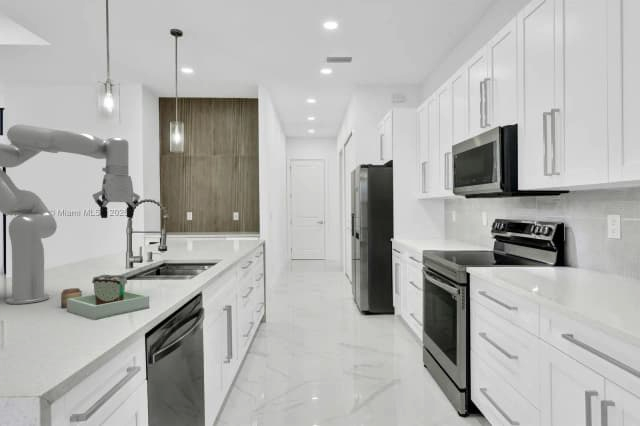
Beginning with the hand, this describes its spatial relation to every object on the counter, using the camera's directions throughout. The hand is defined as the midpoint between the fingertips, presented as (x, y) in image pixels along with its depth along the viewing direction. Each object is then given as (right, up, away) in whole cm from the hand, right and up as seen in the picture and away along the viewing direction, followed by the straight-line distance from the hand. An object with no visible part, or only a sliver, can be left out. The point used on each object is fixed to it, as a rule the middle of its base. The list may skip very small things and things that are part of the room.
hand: (117, 217), depth 148 cm
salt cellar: (-10, -30, -11) cm, 34 cm away
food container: (+6, -30, -13) cm, 33 cm away
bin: (+5, -30, -15) cm, 34 cm away
